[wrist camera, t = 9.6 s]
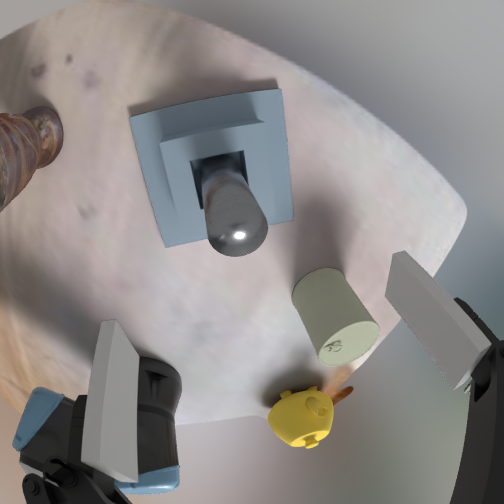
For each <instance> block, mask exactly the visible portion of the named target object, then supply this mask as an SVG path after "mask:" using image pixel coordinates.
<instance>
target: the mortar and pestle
mask: <svg viewBox="0 0 504 504" xmlns="http://www.w3.org/2000/svg"><path fill="white" fill-rule="evenodd" d="M62 145H63V129H62V125H61V122H60V120H59V118H58V116H57V115H56V114H55V112H53V111H52V110H51V109H50V108H49V107H36V108H34V109H31V110H29V111H27V112H26V113H24V114H23V115H22V116H21V115H16V114H13V115H10V114H8V113H1V114H0V212H1V211H2V210H3V209H4V208H5V207H6V206H7V205H8V204H9V203H10V202H11V201H12V200H13V199H14V198H15V197H16V196H17V195H18V194H19V193H20V192H21V191H22V190H23V189H24V188H25V187H26V185H27V184H28V182H29V181H30V179H31V178H32V175H33V174H34V172H35V170H36V169H39V168H42V167H45V166H47V165H49V164H50V163H52V162H53V161H54V160H55V158H56V157H57V155H58V154H59V152H60V150H61V148H62Z"/></svg>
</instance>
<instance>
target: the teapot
mask: <svg viewBox="0 0 504 504" xmlns="http://www.w3.org/2000/svg"><path fill="white" fill-rule="evenodd" d="M280 396H281V398H282V399H281V400H279V401H278V402H277V403H276V404H275V405H274V406H273V407H272V409H271V411H270V413H269V415H268V422H269V424H270V426H271V428H272V430H273V431H274V432H275V434H276V435H277V436H278V437H279V438H281V439H282V440H283V441H284V442H286V443H287V444H289V445H290V446H293V447H299V446H305V448H312V447H315V446H317V445H318V444H319V442H318V441H319V440H321V439H323V438H324V437H326V436H327V435H328V433H329V432H330V429H331V424H332V420H333V413H334V412H333V403H332V400H331V398H330V396H329V395H327V394H325V393H323V392H320V391H317V386H312V387H310V388H308V389H307V390H306V391H301V392H297V393H294V394H292V392H291V391H289V390H287V391H284V392H282V393H280Z"/></svg>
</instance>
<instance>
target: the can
mask: <svg viewBox="0 0 504 504" xmlns="http://www.w3.org/2000/svg"><path fill="white" fill-rule="evenodd" d="M292 302H293V305H294V307H295V308H296V309H297V311H298V313H299V315H300V317H301V320H302V322H303V324H304V326H305V328H306V330H307V333H308V335H309V337H310V339H311V342H312V344H313V346H314V348H315V351H316V353H317V356H318V359H319V361H320V362H321V363H322V364H323V365H325V366H331V367H334V366H341V365H345V364H348V363H350V362H352V361H354V360H356V359H358V358H360V357H361V356H362V355H364V354H365V353H366V352H367V351H369V350H370V349H371V348H372V346H373V345H374V344H375V342H376V341H377V339H378V337H379V333H380V328H379V325H378V324H377V323H376V322H375V320H374V319H373V318H372V316H371V315H370V313H369V312H368V311H367V309H366V308H365V306H364V305H363V304H362V302H361V301H360V299H359V298H358V296H357V295H356V294H355V292H354V291H353V289H352V288H351V286H350V285H349V283H348V282H347V281H346V278H345V276H344V275H343V273H342V272H340V271H339V270H337V269H334V268H322V269H318V270H315V271H313V272H311V273H309V274H307V275H306V276H305V277H304V278H302V279H301V280H300V281H299V283H298V284H297V285H296V287H295V289H294V291H293V295H292Z"/></svg>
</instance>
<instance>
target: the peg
mask: <svg viewBox="0 0 504 504" xmlns="http://www.w3.org/2000/svg"><path fill="white" fill-rule="evenodd" d="M200 178H201V187H202V196H203V205H204V213H205V221H206V229H207V236H208V240H209V242H210V244H211V245H212V247H213V248H214V249H215V250H216V251H218V252H219V253H221V254H223V255H226V256H232V257H238V256H244V255H247V254H249V253H251V252H253V251H255V250H256V249H257V248H258V247H260V245H261V244H262V243H263V242H264V240H265V238H266V235H267V232H268V223H267V219H266V217H265V215H264V213H263V211H262V209H261V208H260V206H259V204H258V202H257V200H256V199H255V197H254V195H253V193H252V192H251V190H250V188H249V186H248V184H247V183H246V181H245V179H244V177H243V176H242V174H241V172H240V170H239V169H238V167H237V165H236V163H235V162H234V160H233V159H232V158H231V157H230V156H229V155H227V154H220V155H215V156H210V157H206V158H205V159H204V160H203V162H202V164H201V166H200Z"/></svg>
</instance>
